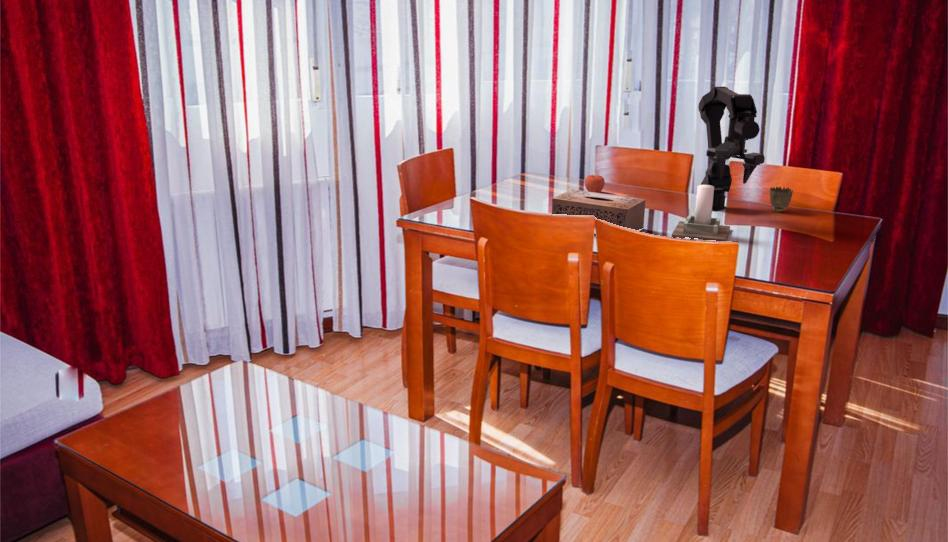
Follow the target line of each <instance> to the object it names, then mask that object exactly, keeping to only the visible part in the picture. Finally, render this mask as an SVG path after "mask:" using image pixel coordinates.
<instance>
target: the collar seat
mask: <svg viewBox="0 0 948 542" xmlns="http://www.w3.org/2000/svg"><path fill="white" fill-rule="evenodd" d="M694 219H695V215H690V214H688V215H687V217H686V219H685V220H684V221H680V220H679V222H678V223H677V225H676V226H675V228H674V229H673V232H671V238H672V237H679V238H685V237H689V238H691V239H694V238H698V239H703V240H716V241H727V239H726V238H728V235H729V233H730V231H729V230H730V229H731V225H722V224H721V218H718V217H711V224H710V225H704V224H694Z"/></svg>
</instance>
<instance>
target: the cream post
mask: <svg viewBox="0 0 948 542" xmlns="http://www.w3.org/2000/svg"><path fill="white" fill-rule="evenodd" d="M696 188H697V189H696V198H695V210H694V216H695V219H694V224H704V225H710V224H711V218H712V214H713V213H712V212H713V210H712V204H713V194H714V186H711V185H701V184H698V185H697V187H696Z"/></svg>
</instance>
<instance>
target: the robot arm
mask: <svg viewBox="0 0 948 542" xmlns="http://www.w3.org/2000/svg"><path fill="white" fill-rule="evenodd" d="M726 109H727V111H728V113H729V115H728V118H729V122H728V129H727V130H728V132H727V136H725V137H724V142H723V138H722V129H721V120H722V118H723V116H724V114H725V110H726ZM698 112H699V114H700V119H701V120H702V122H704V124H705V127H706V137H707V149H706V157H708V160H709V165H708V166H707V169H706V171H705V176H704V177H703V179H702V180H701V183H700V185H711V186H714V194H713V204H712V211H715V212H716V211H720V210H724V209H727V206H725V204H726V196H725V195H726V192H727V193H729V192H730V189H731V185H732V182H733V178H732V175H731V167H730V165H729V164H727V162H726V161H728V160H730V159H731V158H734V159H738V160H743V161H744V163H742V166H743V177H742V184H743V185H744V184H747V182H748V180H749V179H750V177H751V175H752V173H753V172H754V171H755V169H756V168H757V166H760V165H761V164H765V160H766V159H765V158H766V157H765V155H764V153H759V152H751V153H749V152H748V149H746V144H747V143H746V141H749V140H753V139H755V138H756V137H757V136H758V135H759V133H760V129H761V128H760V124H759V123H757V121H755V118H757V114H758V111H757V107H756V103H755V100H754V98H753V96H752V94H748V93H744V94H743V93H742V94H741V93H737V92H736V91H733V90H731V89H729V87H727V86H714V87H712V88H711V89H710V91H709V92H707V93H705V94H704V95H703V96H702V97H701V99H700V101H699V103H698Z"/></svg>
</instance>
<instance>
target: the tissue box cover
mask: <svg viewBox="0 0 948 542" xmlns="http://www.w3.org/2000/svg"><path fill="white" fill-rule="evenodd" d="M645 210H646V199H644V198H637V197H632V196H631V197H630V196H622V195H617V194H616V195H615V194H609V193H601V192H600V193H595V192H588V191H587V190H579V189H570V190H567V191H565V192H563V193H561V194H559V195H557V196H554V197H552V199H551V215H552V214H567V215H594V216H595V217H596V218H597V219H601V220H605V221H607V222H610V223H613V224H616V225H619V226H623V227H627V228H631V229H635V230H639V229H642V228H644V229H645V226H644V225H645Z"/></svg>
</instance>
